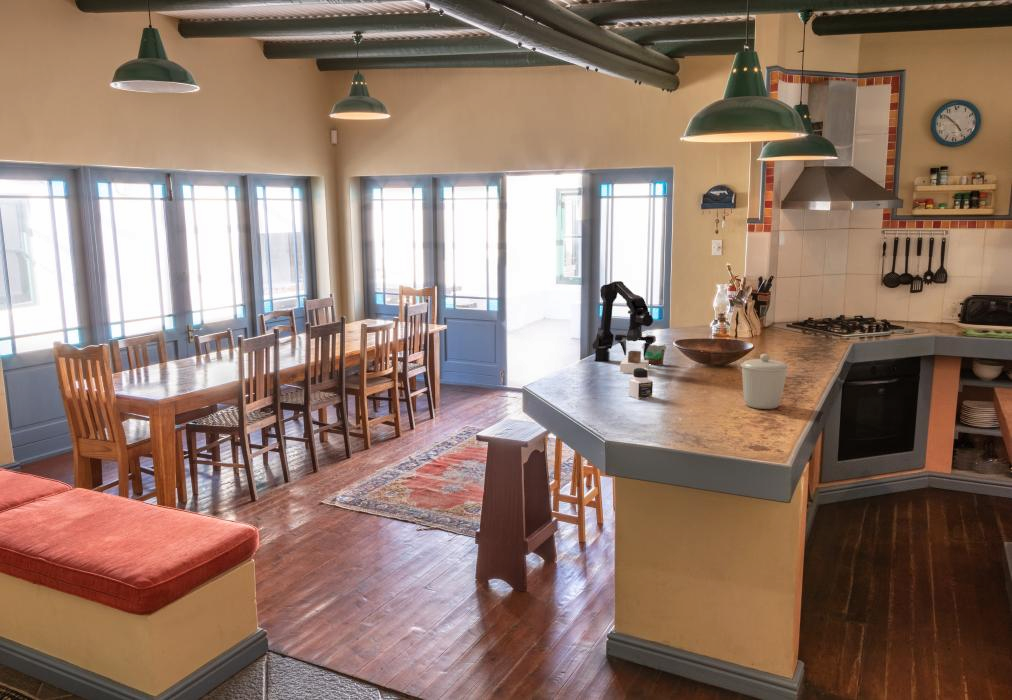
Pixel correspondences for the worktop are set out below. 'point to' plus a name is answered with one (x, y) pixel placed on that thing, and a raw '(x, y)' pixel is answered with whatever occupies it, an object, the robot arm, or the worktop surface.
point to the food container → (655, 354)
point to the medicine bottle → (640, 384)
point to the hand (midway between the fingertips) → (634, 355)
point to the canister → (763, 382)
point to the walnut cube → (634, 356)
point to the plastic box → (632, 366)
